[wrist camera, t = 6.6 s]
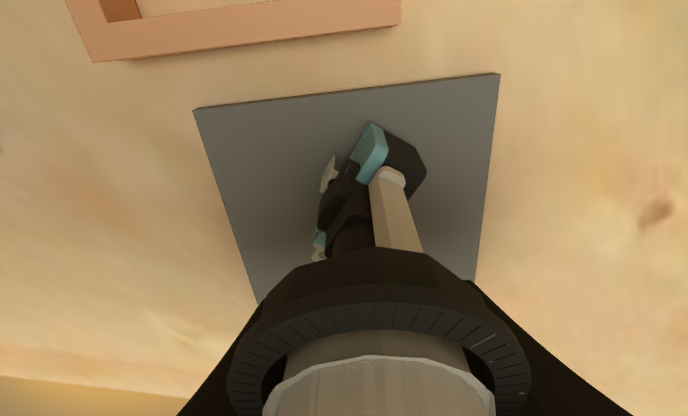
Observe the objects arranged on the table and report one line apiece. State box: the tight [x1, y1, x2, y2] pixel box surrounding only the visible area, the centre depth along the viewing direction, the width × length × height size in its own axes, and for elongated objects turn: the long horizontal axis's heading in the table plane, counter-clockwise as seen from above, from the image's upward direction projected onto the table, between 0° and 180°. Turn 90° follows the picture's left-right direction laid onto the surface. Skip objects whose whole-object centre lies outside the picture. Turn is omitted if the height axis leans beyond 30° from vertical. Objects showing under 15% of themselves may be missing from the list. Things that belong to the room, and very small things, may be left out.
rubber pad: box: [192, 73, 501, 306], centre depth 15 cm, size 12×12×1 cm
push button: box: [227, 123, 532, 416], centre depth 9 cm, size 7×5×10 cm
